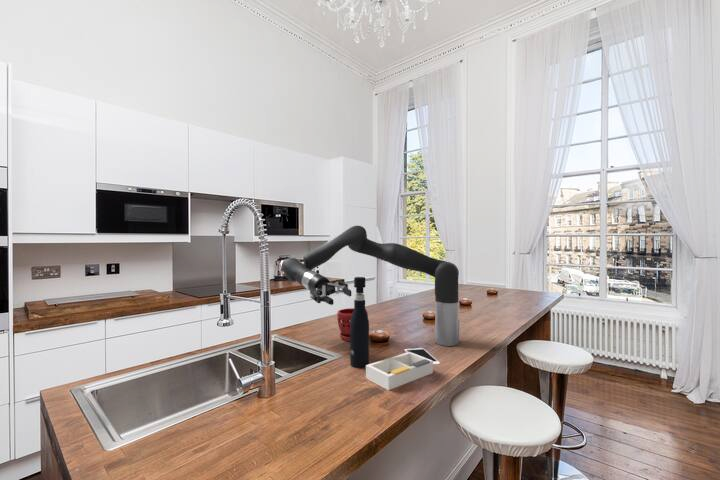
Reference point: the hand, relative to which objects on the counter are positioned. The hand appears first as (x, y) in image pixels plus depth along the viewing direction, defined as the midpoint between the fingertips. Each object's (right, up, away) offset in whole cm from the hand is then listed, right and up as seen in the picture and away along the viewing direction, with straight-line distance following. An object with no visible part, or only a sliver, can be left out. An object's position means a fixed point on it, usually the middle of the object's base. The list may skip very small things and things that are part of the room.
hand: (341, 298), depth 120 cm
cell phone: (+29, -23, +3) cm, 37 cm away
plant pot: (+3, -22, +24) cm, 33 cm away
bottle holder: (+19, -22, -14) cm, 33 cm away
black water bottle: (+6, -22, -5) cm, 24 cm away
